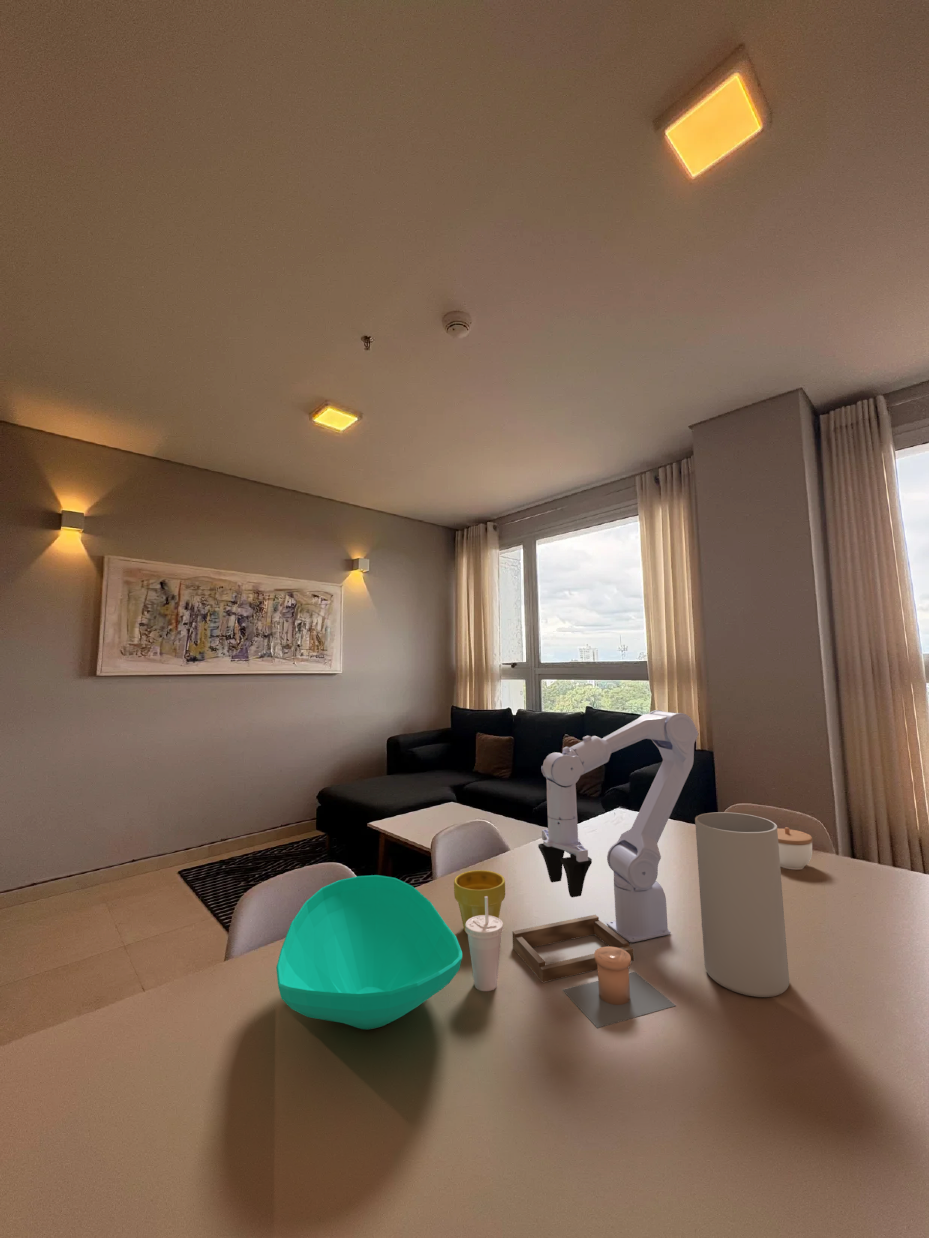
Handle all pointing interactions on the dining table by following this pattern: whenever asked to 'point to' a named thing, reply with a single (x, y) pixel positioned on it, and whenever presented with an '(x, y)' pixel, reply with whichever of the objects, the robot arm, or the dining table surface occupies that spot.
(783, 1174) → the dining table surface
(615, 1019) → the potting mat
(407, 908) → the table top decor
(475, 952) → the smoothie
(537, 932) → the cold frame
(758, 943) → the cylinder vase
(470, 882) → the plant pot
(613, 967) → the terracotta pot
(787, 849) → the lidded jar
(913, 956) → the dining table surface
